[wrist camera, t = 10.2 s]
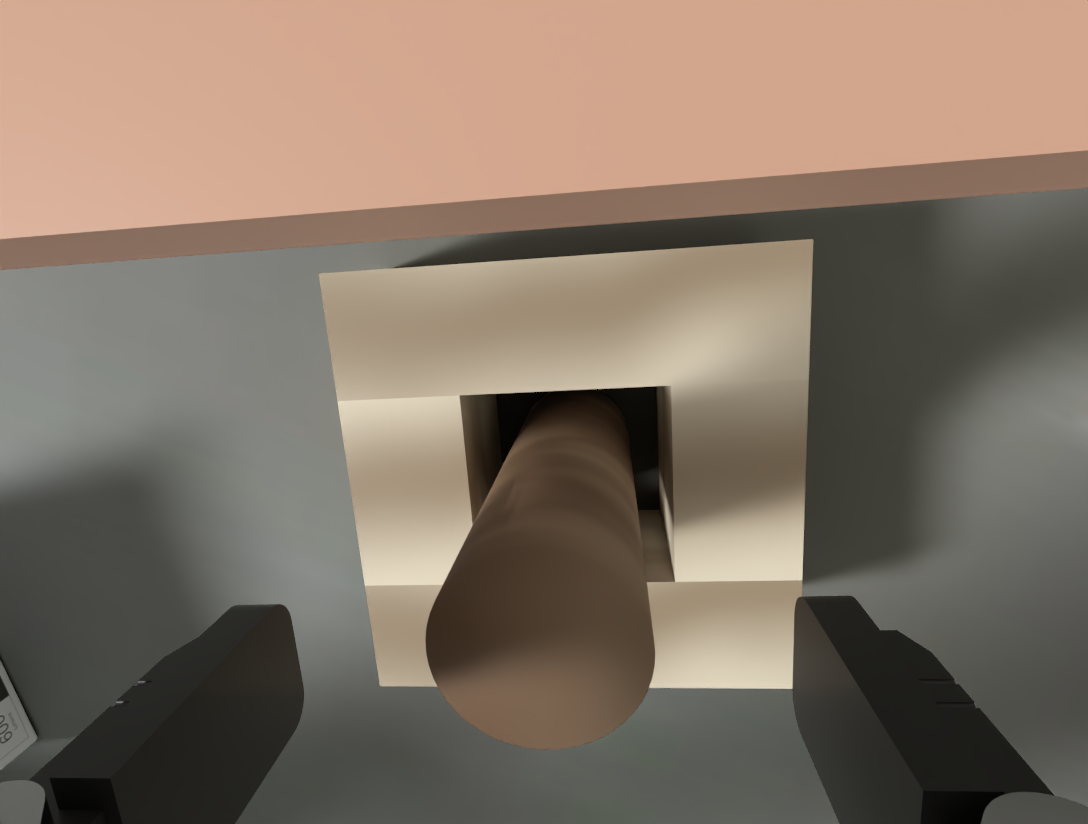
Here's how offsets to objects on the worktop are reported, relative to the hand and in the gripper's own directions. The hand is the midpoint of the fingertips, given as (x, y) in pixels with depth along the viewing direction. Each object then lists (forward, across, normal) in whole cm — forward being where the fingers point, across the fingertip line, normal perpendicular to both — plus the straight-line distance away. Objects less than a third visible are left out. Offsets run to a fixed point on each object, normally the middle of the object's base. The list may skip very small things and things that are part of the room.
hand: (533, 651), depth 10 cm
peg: (+12, 0, 0) cm, 12 cm away
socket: (+12, 0, 0) cm, 12 cm away
